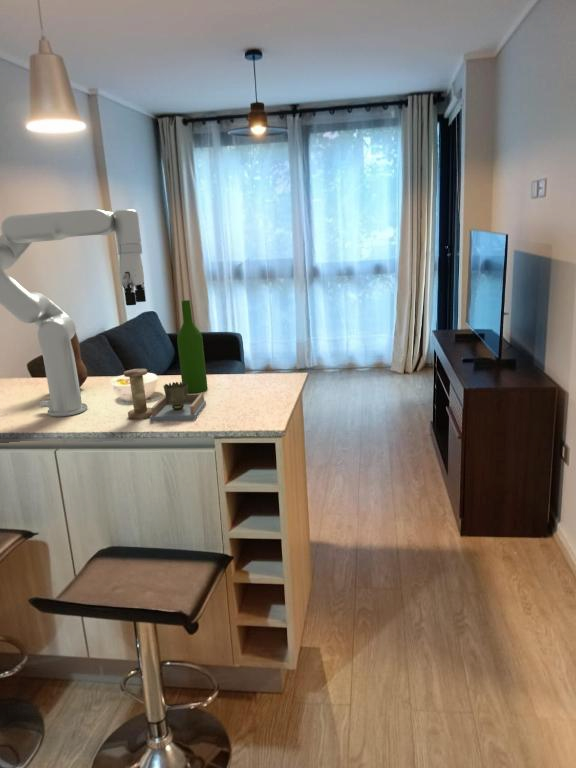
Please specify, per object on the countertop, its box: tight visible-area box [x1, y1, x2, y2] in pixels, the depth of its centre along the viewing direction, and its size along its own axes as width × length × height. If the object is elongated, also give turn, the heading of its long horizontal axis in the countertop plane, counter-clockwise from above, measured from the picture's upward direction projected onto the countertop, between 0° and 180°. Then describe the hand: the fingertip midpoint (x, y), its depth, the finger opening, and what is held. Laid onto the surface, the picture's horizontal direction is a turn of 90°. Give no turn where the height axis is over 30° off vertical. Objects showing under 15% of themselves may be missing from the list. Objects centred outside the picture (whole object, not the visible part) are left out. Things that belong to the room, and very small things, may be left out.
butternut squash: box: [71, 331, 88, 389], centre depth 226 cm, size 14×13×25 cm
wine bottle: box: [176, 299, 208, 394], centre depth 211 cm, size 9×9×32 cm
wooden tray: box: [149, 392, 207, 423], centre depth 187 cm, size 14×16×4 cm
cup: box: [163, 381, 188, 410], centre depth 186 cm, size 8×7×8 cm
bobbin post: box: [123, 368, 152, 421], centre depth 186 cm, size 8×8×14 cm
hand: (136, 303), depth 194 cm, fingers open, 9 cm apart
